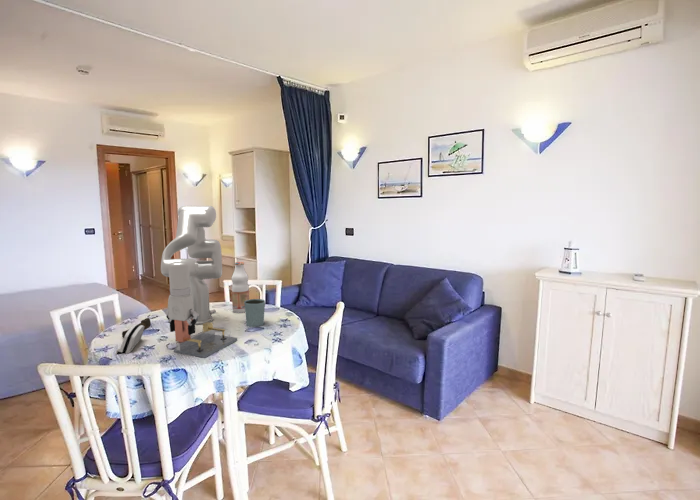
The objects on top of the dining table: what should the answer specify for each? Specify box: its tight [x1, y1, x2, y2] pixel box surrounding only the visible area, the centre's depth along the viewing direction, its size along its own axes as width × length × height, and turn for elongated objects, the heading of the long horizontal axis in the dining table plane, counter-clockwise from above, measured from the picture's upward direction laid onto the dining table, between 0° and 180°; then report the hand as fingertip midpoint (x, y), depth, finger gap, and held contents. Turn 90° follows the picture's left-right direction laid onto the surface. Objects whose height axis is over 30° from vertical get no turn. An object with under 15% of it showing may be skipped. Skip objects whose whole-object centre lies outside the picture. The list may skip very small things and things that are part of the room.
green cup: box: [244, 298, 266, 328], centre depth 186 cm, size 10×10×12 cm
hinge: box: [115, 323, 145, 355], centre depth 158 cm, size 17×5×10 cm, turn 14°
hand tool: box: [121, 317, 152, 339], centre depth 176 cm, size 19×4×5 cm, turn 175°
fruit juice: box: [231, 261, 250, 314], centre depth 209 cm, size 9×9×28 cm
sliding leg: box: [174, 320, 201, 350], centre depth 151 cm, size 4×11×12 cm, turn 69°
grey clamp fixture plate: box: [173, 322, 238, 359], centre depth 157 cm, size 20×16×7 cm
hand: (182, 332), depth 152 cm, fingers open, 9 cm apart
